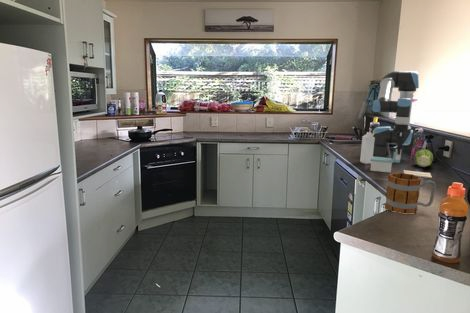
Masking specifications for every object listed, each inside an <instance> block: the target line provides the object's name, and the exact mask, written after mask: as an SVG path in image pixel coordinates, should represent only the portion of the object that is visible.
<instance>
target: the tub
mask: <svg viewBox="0 0 470 313" xmlns="http://www.w3.org/2000/svg"><path fill="white" fill-rule="evenodd" d="M392 164H393V163H387V162H377V161H371V163H370V169H369V171H372V172H373V171H374V172H381V173H382V172H383V173H389V174H390V173H392V167H393V165H392Z"/></svg>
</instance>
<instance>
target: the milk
mask: <svg viewBox="0 0 470 313" xmlns="http://www.w3.org/2000/svg"><path fill="white" fill-rule="evenodd" d="M361 137H362V138H361V139H362V140H361V146H360V147H361V149H360V159H359V162H360V163H362V164H371V161H370V160H371V156H373V150H374V140H375V138H374V135H372V133H371V132H369V131H366V134H364V135H362V136H361Z"/></svg>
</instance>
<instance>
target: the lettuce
mask: <svg viewBox="0 0 470 313" xmlns="http://www.w3.org/2000/svg"><path fill="white" fill-rule="evenodd" d="M413 159H414V162H415V164H416V165H417V166H418V167H421V168H426V167H429V166H430V165H432V163H433V161H434V155H433V153H432V152H431V151H430V150H429V149H423V148H422V149H419V150H417V151H416V152H415V154H414V157H413Z"/></svg>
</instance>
